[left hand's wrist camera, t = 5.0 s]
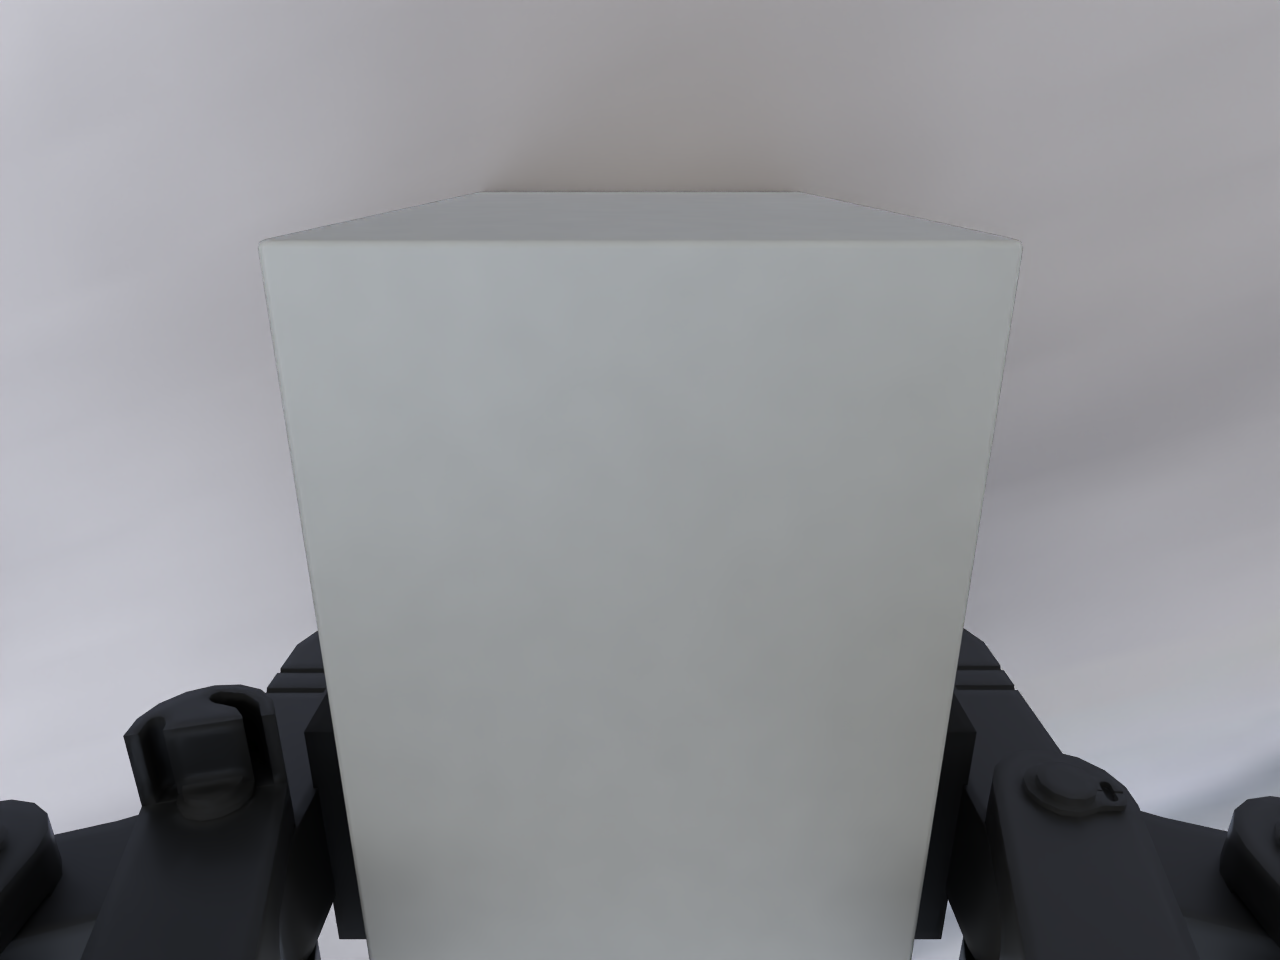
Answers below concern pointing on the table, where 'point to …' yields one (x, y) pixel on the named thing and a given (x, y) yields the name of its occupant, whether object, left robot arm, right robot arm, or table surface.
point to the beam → (640, 560)
